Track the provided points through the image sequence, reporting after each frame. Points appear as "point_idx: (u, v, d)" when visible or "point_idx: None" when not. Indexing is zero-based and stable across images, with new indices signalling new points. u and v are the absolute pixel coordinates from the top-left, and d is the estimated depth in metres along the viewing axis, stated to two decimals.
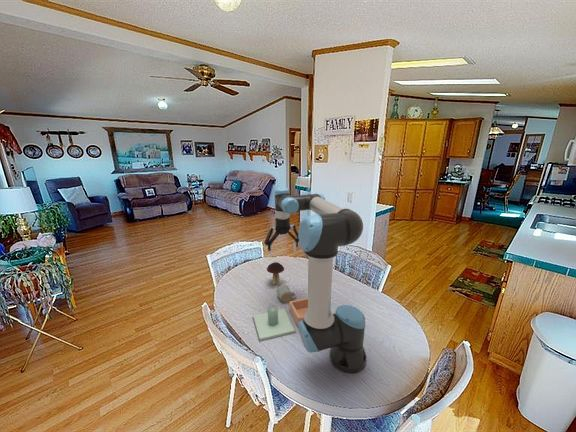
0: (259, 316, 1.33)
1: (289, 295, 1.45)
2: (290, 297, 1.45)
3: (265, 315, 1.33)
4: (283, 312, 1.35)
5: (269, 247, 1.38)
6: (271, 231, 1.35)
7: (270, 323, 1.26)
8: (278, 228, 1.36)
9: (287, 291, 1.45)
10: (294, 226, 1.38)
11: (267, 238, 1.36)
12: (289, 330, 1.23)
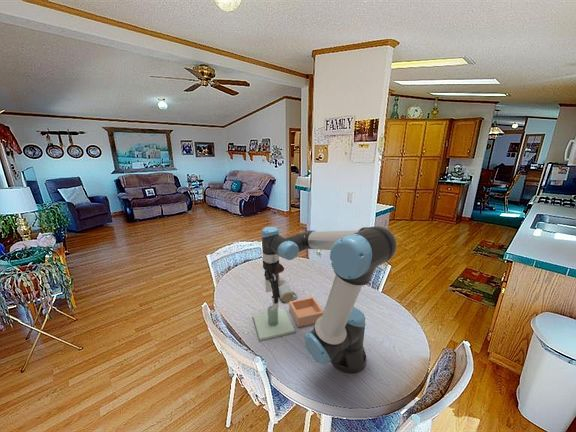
0: (259, 316, 1.33)
1: (290, 295, 1.45)
2: (291, 297, 1.45)
3: (265, 315, 1.33)
4: (283, 312, 1.35)
5: None
6: None
7: (270, 323, 1.26)
8: None
9: (288, 291, 1.45)
10: (271, 277, 1.14)
11: (265, 271, 1.29)
12: (289, 330, 1.23)
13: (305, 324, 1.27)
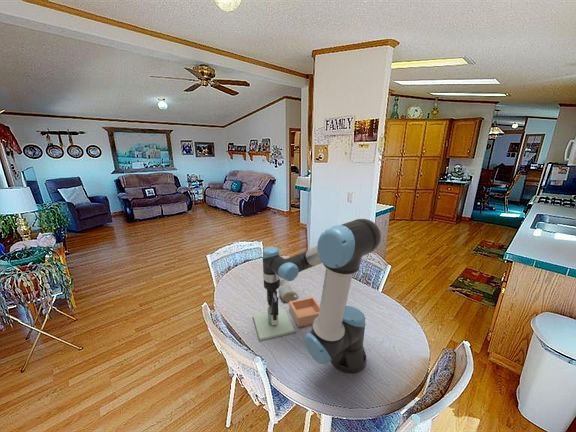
0: (259, 316, 1.33)
1: (291, 295, 1.45)
2: (292, 297, 1.45)
3: (265, 315, 1.33)
4: (283, 312, 1.35)
5: (269, 306, 1.30)
6: None
7: (270, 323, 1.26)
8: None
9: (289, 291, 1.45)
10: (272, 299, 1.17)
11: (267, 295, 1.30)
12: (289, 330, 1.23)
13: (305, 324, 1.27)
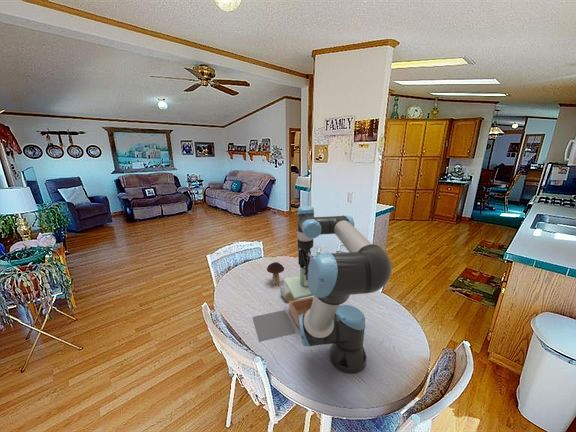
0: (290, 280, 1.33)
1: None
2: None
3: (295, 278, 1.34)
4: None
5: None
6: (298, 250, 1.29)
7: (303, 284, 1.26)
8: None
9: None
10: (307, 257, 1.18)
11: (298, 257, 1.30)
12: None
13: None
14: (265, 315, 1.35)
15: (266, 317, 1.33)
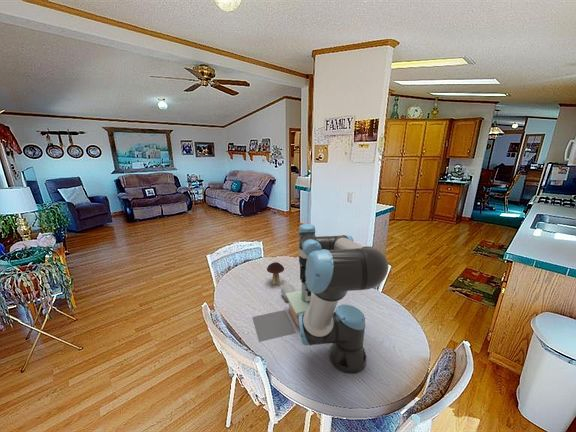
0: (292, 294, 1.36)
1: None
2: None
3: (297, 293, 1.37)
4: None
5: None
6: (300, 265, 1.32)
7: (304, 299, 1.29)
8: None
9: (292, 290, 1.45)
10: None
11: (300, 272, 1.33)
12: None
13: None
14: (265, 315, 1.35)
15: (266, 317, 1.33)
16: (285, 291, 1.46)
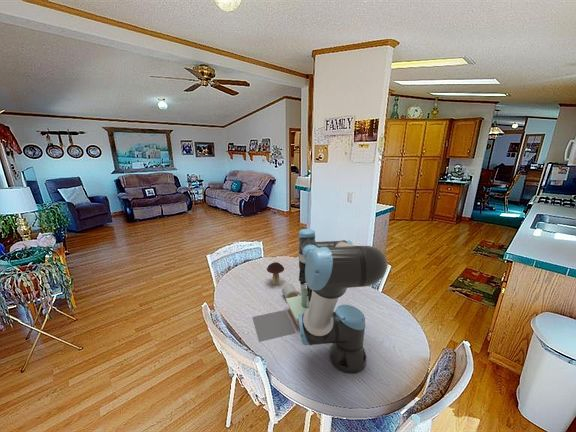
0: (292, 299, 1.37)
1: (295, 294, 1.45)
2: None
3: (297, 298, 1.38)
4: None
5: (301, 285, 1.35)
6: (300, 268, 1.33)
7: (304, 305, 1.30)
8: None
9: (293, 290, 1.46)
10: None
11: None
12: None
13: None
14: (265, 315, 1.35)
15: (266, 317, 1.33)
16: (286, 291, 1.46)
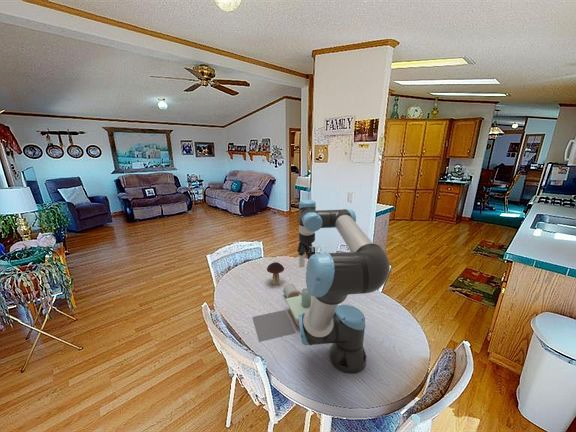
0: (292, 299, 1.37)
1: (296, 294, 1.45)
2: None
3: (297, 298, 1.38)
4: None
5: None
6: (300, 241, 1.28)
7: (304, 305, 1.30)
8: None
9: (294, 290, 1.46)
10: (309, 248, 1.16)
11: (298, 246, 1.32)
12: None
13: None
14: (265, 315, 1.35)
15: (266, 317, 1.33)
16: (287, 291, 1.46)
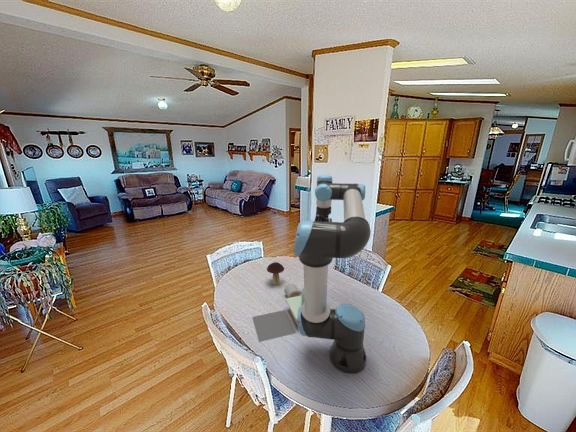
0: (292, 299, 1.37)
1: (297, 294, 1.46)
2: None
3: (297, 298, 1.38)
4: None
5: None
6: (316, 215, 1.39)
7: None
8: (319, 215, 1.35)
9: (295, 290, 1.46)
10: (326, 219, 1.27)
11: None
12: None
13: None
14: (265, 315, 1.35)
15: (266, 317, 1.33)
16: (288, 290, 1.47)
